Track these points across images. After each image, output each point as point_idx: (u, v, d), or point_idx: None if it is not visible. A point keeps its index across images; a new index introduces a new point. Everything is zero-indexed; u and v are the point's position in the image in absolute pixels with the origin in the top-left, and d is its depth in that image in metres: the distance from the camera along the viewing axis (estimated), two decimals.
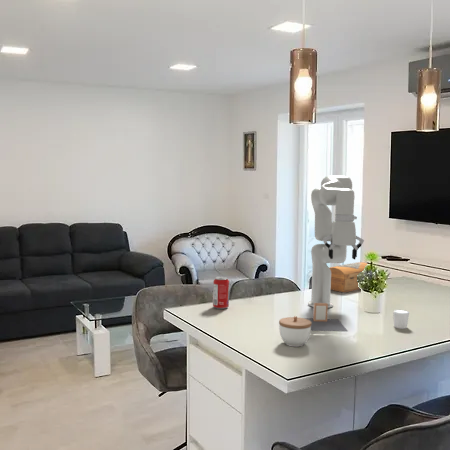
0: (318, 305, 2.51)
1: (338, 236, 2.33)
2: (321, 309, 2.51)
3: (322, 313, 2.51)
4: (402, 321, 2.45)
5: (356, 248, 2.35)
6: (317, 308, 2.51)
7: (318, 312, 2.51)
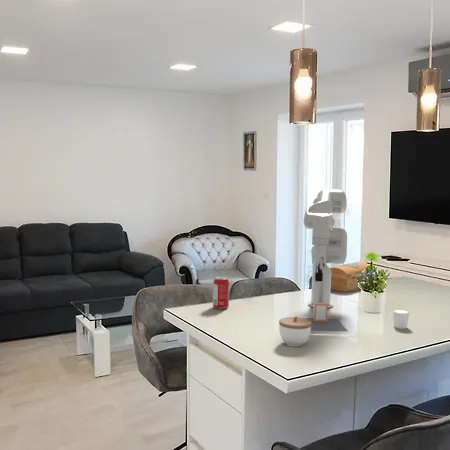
0: (318, 305, 2.51)
1: None
2: (321, 309, 2.51)
3: (322, 313, 2.51)
4: (402, 321, 2.45)
5: None
6: (317, 308, 2.51)
7: (318, 312, 2.51)
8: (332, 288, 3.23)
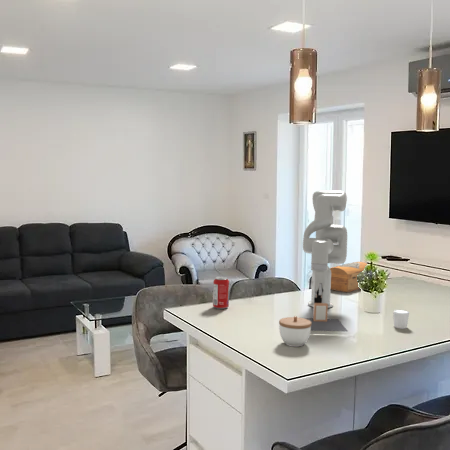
0: (318, 305, 2.51)
1: None
2: (321, 309, 2.51)
3: (322, 313, 2.51)
4: (402, 321, 2.45)
5: None
6: (317, 308, 2.51)
7: (318, 312, 2.51)
8: (333, 288, 3.23)
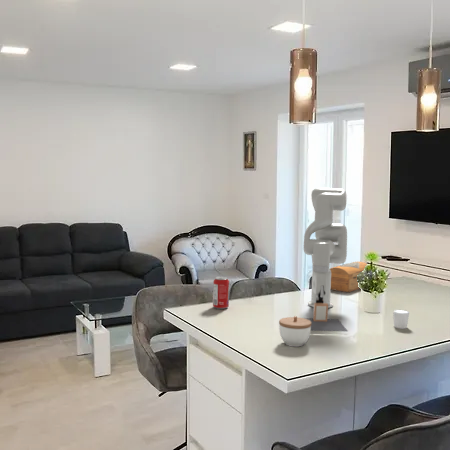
0: (318, 305, 2.50)
1: None
2: (321, 309, 2.50)
3: (322, 314, 2.51)
4: (402, 321, 2.45)
5: None
6: (317, 308, 2.50)
7: (318, 312, 2.51)
8: (333, 288, 3.23)
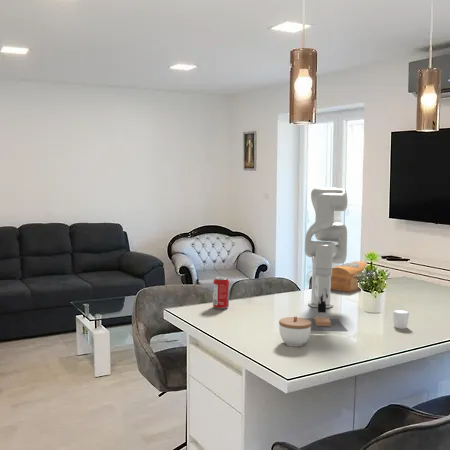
0: (320, 325, 2.44)
1: None
2: None
3: None
4: (402, 321, 2.45)
5: None
6: None
7: None
8: (335, 288, 3.23)
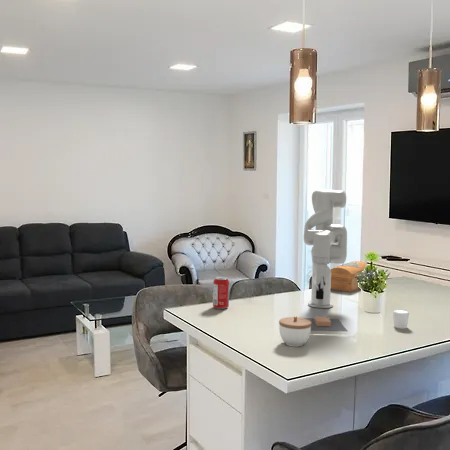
0: (320, 325, 2.44)
1: None
2: None
3: None
4: (402, 321, 2.45)
5: None
6: None
7: None
8: (336, 288, 3.23)
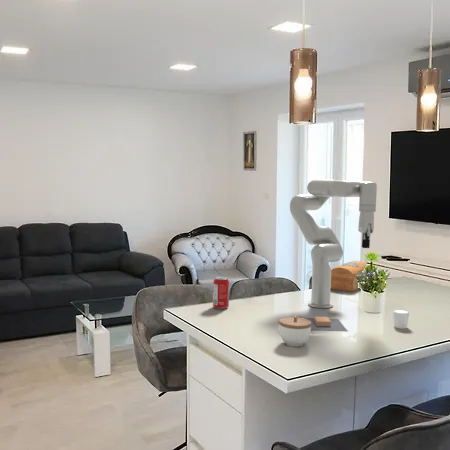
0: (320, 325, 2.44)
1: None
2: None
3: None
4: (402, 321, 2.45)
5: None
6: None
7: None
8: (337, 288, 3.23)
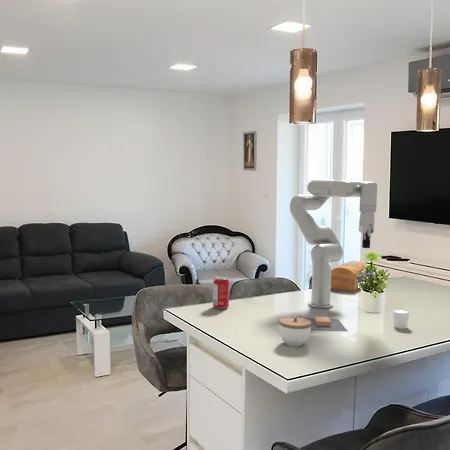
0: (320, 325, 2.44)
1: None
2: None
3: None
4: (402, 321, 2.45)
5: None
6: None
7: None
8: (338, 288, 3.24)
